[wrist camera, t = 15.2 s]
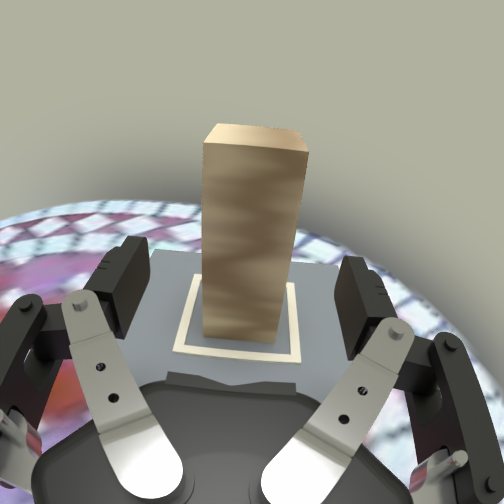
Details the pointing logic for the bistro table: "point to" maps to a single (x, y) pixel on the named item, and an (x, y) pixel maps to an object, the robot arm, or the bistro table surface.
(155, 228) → the bistro table surface
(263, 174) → the maple block
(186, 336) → the grey rectangular slab
